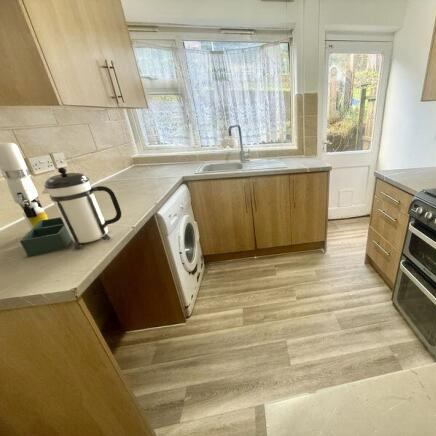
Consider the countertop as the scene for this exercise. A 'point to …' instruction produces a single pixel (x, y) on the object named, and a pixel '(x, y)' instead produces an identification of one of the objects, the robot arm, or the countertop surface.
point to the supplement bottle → (40, 215)
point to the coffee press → (80, 206)
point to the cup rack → (46, 237)
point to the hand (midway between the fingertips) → (35, 213)
